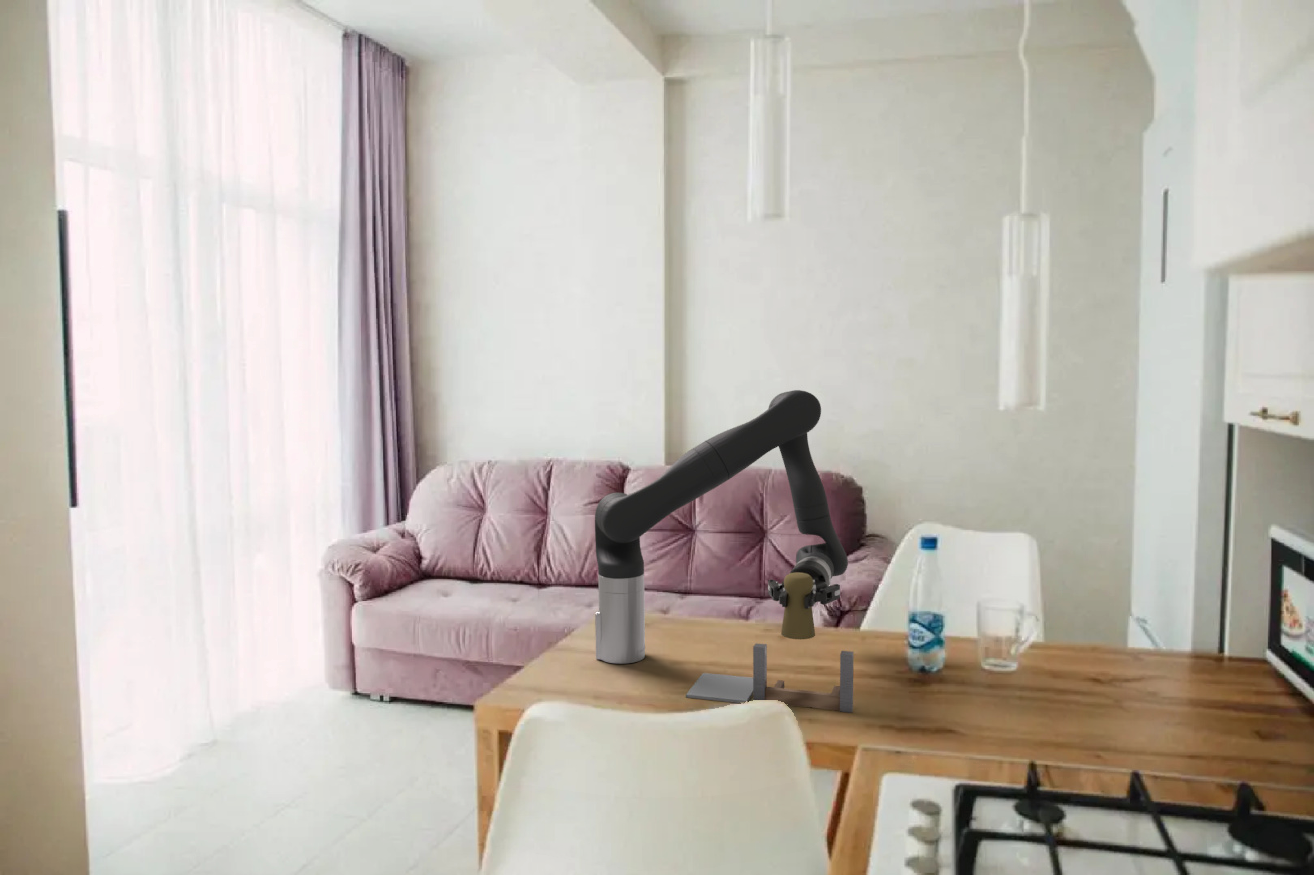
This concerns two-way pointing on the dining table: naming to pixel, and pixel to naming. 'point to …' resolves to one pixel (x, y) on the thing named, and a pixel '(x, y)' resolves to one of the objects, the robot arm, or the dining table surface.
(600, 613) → the robot arm
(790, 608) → the cork
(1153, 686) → the dining table surface
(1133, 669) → the dining table surface
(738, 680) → the grey rubber mat
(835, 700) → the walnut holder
